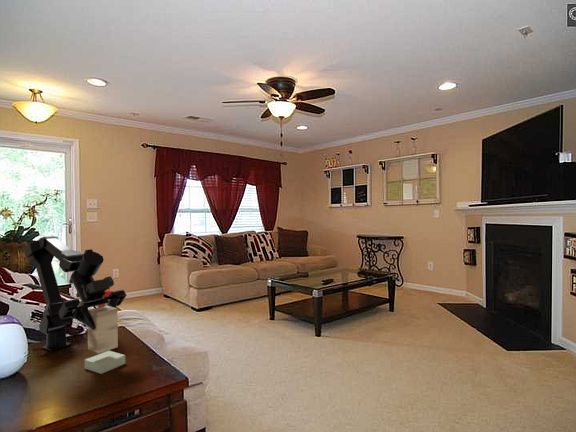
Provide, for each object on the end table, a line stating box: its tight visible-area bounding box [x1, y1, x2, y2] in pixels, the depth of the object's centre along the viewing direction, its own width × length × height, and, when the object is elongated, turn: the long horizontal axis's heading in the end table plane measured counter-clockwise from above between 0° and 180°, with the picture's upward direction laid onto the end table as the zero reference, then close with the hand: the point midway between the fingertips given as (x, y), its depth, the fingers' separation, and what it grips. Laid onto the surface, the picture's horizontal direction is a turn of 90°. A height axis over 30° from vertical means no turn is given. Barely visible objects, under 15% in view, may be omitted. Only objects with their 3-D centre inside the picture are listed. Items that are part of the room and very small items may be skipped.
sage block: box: [84, 350, 126, 375], centre depth 110 cm, size 8×8×3 cm
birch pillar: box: [87, 306, 119, 355], centre depth 109 cm, size 6×6×12 cm
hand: (105, 325), depth 108 cm, fingers closed on birch pillar, 6 cm apart
